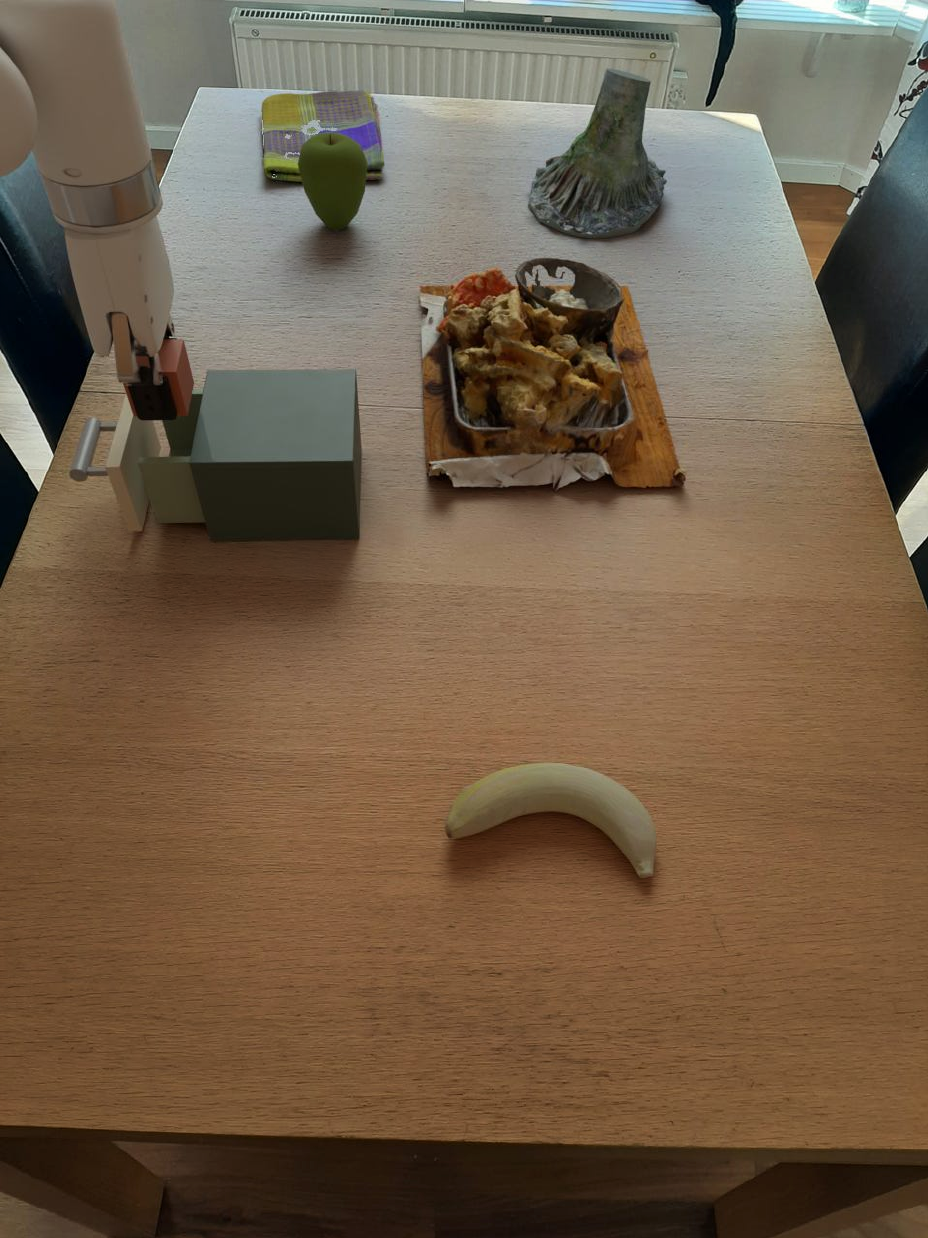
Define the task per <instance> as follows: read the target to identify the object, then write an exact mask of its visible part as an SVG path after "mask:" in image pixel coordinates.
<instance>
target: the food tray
mask: <svg viewBox="0 0 928 1238" xmlns="http://www.w3.org/2000/svg"><path fill="white" fill-rule="evenodd" d="M538 266H542V267H543V268H544V269H545V270H546V272H547V275H548V277H550V278H553V279H558V276H557V274H556V273H557V270H558V268H567V269H568V270H570V271H571V272H572V274H573V275H574V283H573V285H541V281H540V280H539V269H535V271H536V273H535V277H534V276H533V269H534V267H538ZM526 273H528V274H529V276H530V277H532V278H534V283H535V284H533V283H532V284H531V285H528V280H527V277H526ZM565 273H566V271H561V276H560V277H559V279H560V280H563V278H564V274H565ZM514 278H515V282H516V284H517V285H514V284H512V283H511V281H510V280H509V279H508V278H506V275H505V274H504V273H503V271H502V269H500V268H499V267H494V268H487V269H486V270H485V273H484V272H481V273H480V272H475V273H472V274H469V275H467V276H466V277H465V278H464V279H462V280H461V281H459V282H458V283H457V284H456V283H455V284H454V283H451V285H449V286H448V285H425V286H424V285H419V300H420V306H421V307H423V308H426V309H428V311H427V314H422V313H421V314H422V316H421V321H420V322H421V326H420V330H421V331H420V333H421V334H420V336H421V357H422V359H421V360H422V362H421V363H422V384H423V386H422V391H423V392H422V394H423V412H424V413H423V417H424V419H423V422H424V429H425V430H424V443H425V447H424V448H425V461H426V477H434V479H439V480H443V479H444V478H445V476H448V478H449V480H450V481H451V483H452V486H453V487H454V488H460V487H462V488H463V487H464V488H466V487H469V488H470V487H471V488H475V487H476V488H478V487H480V488H503V487H505V488H508V487H510V486H511V487H513V486H522V487H523V486H536V487H537V486H539V485H540V486H542V485H548V484H552V486H553V487H552V490H554V492H555V493H556V492H557V491H558V490H559V489H560V488H563V487H565V486H567V485H569V484H570V483H574V482H576V481H578V480H580V479H581V478H582V479H584V480H585V481H588V482H593V481H596V480H598V479H600V478H601V477H602V476H603V477H604V476H605V475H606V474H607V475H611V477H612V480H613V482H614V484H616V485H617V486H619V487H622V488H624V487H625V488H631V487H635V488H643V489H647V487H649V488H652V487H654V488H656V487H657V488H660V487H665V488H668V487H670V488H671V487H672V488H674V486H675V487H679V488H682V487H683V486H684V484H685V482H686V475H688V473H687V472H688V471H687V470H686V469H684V468H682V467H680V465H679V460H678V458H677V454H676V450H675V449H676V448H675V446H674V442H673V437H672V435H671V432H670V431H671V430H670V427H669V425H668V420H667V418H666V414H665V410H664V407H663V406H664V405H663V403H662V399H661V396H660V393H659V391H658V386H657V383H656V378H655V376H654V372H653V369H652V367H651V363H650V362H651V361H650V358H649V349H647V348H646V342H645V340H644V337H643V332H642V329H641V328H640V326H641V325H640V321H639V319H638V318H637V317H638V316H637V313H636V309H635V305H634V303H633V299H632V295H631V292H630V288H629V286H628V285H620V284H619V283H618V282H617V281H616V280H615V279H614V278H612V277H611V276H610V275H609V274H607V273H606V272H603V271H601V270H599V269H596V268H594V267H591V266H589V265H587V264H586V263H583V262H578V261H575V260H571V259H563V258H561V259H560V258H556V257H538V258H533V259H528V260H525V261H523V262H522V263H520V264H519V266H517V268H516V270H515V275H514Z"/></svg>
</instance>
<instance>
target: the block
mask: <svg viewBox="0 0 928 1238" xmlns="http://www.w3.org/2000/svg"><path fill="white" fill-rule="evenodd" d="M134 341H135V344H140V343H139V342H138V341H137V340H134ZM158 355H159V360H160V365H161V371H162V376H163V377H168V381H169V385H170V388H171V392H172V396H173V399H174V403H175V407H176V410H177V416H187V415H188V411H189V406H190V401H191V396H192V391H193V389H194V386H195V380H194V376H193V372H192V368H191V365H190V360H189V356H188V352H187V348H186V343H185V339H183V338H182V339H181V338H180V339H179V338H177V339H163V342H162V345H161V348H160V350H159V351H158ZM136 360H137V364H138V366H147V367H148V368H150V365H149V360H148V356H136ZM122 384H123V388H124V391H125V394H127V397H128V400H129V403H130V407H131V410H132V413H133V416H134V417H136V416H137V414H136V411H135V408H134V405H133V402H132V399H131V396H130V392H129V389H128V386H126V384H125V383H122Z"/></svg>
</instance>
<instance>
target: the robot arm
mask: <svg viewBox="0 0 928 1238" xmlns="http://www.w3.org/2000/svg"><path fill="white" fill-rule="evenodd" d="M151 149H152V148H151V146H150V141H149V137H148V132H147V129H146V123H145V120H144V116H143V111H142V107H141V104H140V99H139V95H138V90H137V87H136V82H135V78H134V74H133V70H132V65H131V60H130V57H129V52H128V48H127V44H126V39H125V35H124V31H123V28H122V23H121V18H120V15H119V11H118V7H117V4H116V1H115V0H0V178H3V177H6V176H8V175H10V174H11V173H13V172H15V171H16V170H17V169H19V168H20V167H21V166H22V165H23V164H25V162H26V161H27V159H28V158H29V156H30V154H31V153H32V156H33V158H34V161H35V165H36V167H37V169H38V173H39V175H40V178H41V181H42V184H43V187H44V191H45V193H46V196H47V200H48V202H49V205H50V209H51V212H52V215H53V217H54V220H55V221H56V222H57V223H58V224H59V225H60V226H62V227H63V228H64V239H65V245H66V251H67V257H68V263H69V267H70V272H71V275H72V280H73V283H74V287H75V291H76V295H77V299H78V303H79V306H80V309H81V313H82V317H83V320H84V324H85V327H86V330H87V334H88V337H89V340H90V344H91V347H92V350H93V352H94V353H95V355H96V356H97V357H98V358H105V357H110V354H111V350H112V347H113V349H114V350H113V351H114V359H115V360H114V361H115V368H116V378H117V381H118V382H119V383H120V384H121V383H122V384H123V383H125V384H126V386H128V389H129V392H130V396H131V399H132V402H133V405H134V408H135V411H136V414H137V417H138V419H140V420H143V421H147V420H153V421H162V420H175V419H176V417H177V410H176V407H175V403H174V399H173V396H172V392H171V388H170V385H169V381H168V377H163V376H162V371H161V365H160V360H159V355H158V351H159V350H160V348H161V345H162V342H163V339H178V338H177V337H175V334H176V333H175V332H176V330H175V324H174V321H173V318H172V316H171V310H172V306H173V302H174V296H175V295H174V294H175V290H174V289H175V288H174V279H173V274H172V273H173V272H172V268H171V264H170V259H169V255H168V251H167V246H166V244H165V240H164V237H163V233H162V229H161V225H160V223H159V219H158V215H159V214H160V213H161V211H162V208H163V205H164V203H163V201H164V200H163V196H162V192H161V188H160V184H159V180H158V176H157V172H156V171H157V170H156V166H155V163H154V158H153V155H152V150H151ZM134 340H137V341H138V342H139V343H140V344H135V341H134ZM136 356H148V360H149V365H150V368H148V367H147V366H138V364H137V360H136Z"/></svg>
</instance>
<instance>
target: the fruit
mask: <svg viewBox="0 0 928 1238" xmlns="http://www.w3.org/2000/svg"><path fill="white" fill-rule="evenodd" d="M544 812H555V813H556V812H558V813H565V814H568V815H573V816H576V817H578V818H581V819H582V820H585V821H587V822H588V823H590V824H591V825H593V826H595V827H596V828H598V829H599V830H601V832H603V833H604V834H605V835H606V836H607V837H608V838H609V839H610V840H611V841H612V842H613V843H614V844H615V845H616V847H617V849H619V850H620V851H621V852H622V853H623V854H624V856H625V857H626V858H627V859H628V861H629V862H630V864H631V865H632V868H634V871H635V872H636V875H637V876H638V877H639V878H640V879H646V878H650V877H653V876H654V864H655V858H656V852H657V831H656V827H655V823H654V821H653V819H652V817H651V815H650V813H649V811H648V810H647V809H646V807H645V806H644V804H643V803H642V802H641V801H640V800H639V799H638V798H637V796H636V795H634V793H632V792H631V791H630V790H629V789H627V788H626V787H624V786H623V785H622V784H621V783H618V781H615V780H614V779H613V778H611V777H609V776H606V775H605V774H603V773H600V772H598V771H595V770H593V769H590V768H588V767H584V766H581V765H580V766H579V765H572V764H569V763H560V762H538V763H527V764H526V763H525V764H520V765H515V766H514V765H513V766H510V767H507V768H502V769H500V770H497V771H495V772H492V773H490V774H487V775H485V776H484V777H482V778H480V779H479V780H476V781H475V782H473V783H472V784H469V785H466V786H465V787H463V788H462V790H461V791H460V793H459V794H458V795H457V796H456V797H455V798H454V800H453V801H452V803H451V805H450V808H449V812H448V814H447V817H446V821H445V826H444V832H445V834H446V837H447V838H448V839H451V840H452V839H453V840H455V839H461V838H465V837H469V836H473V835H476V834H479V833H482V832H484V831H487V830H489V829H492V828H493V827H496V826H498V825H500V824H502V823H505V822H507V821H509V820H512V819H515V818H517V817H521V816H525V815H531V814H535V813H544Z"/></svg>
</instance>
